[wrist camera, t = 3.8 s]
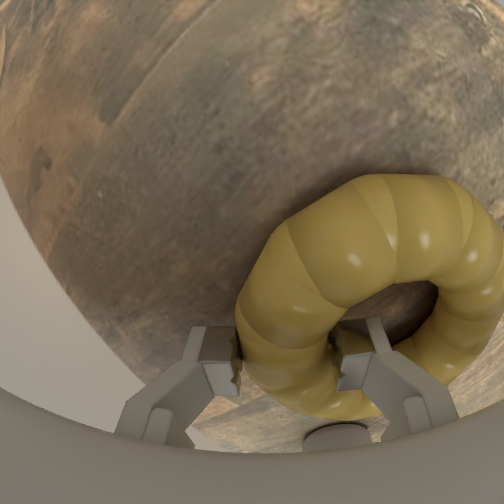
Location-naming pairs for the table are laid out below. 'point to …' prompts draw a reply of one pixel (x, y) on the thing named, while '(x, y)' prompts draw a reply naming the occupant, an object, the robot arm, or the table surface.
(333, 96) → the table surface
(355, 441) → the beverage can
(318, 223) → the ring doughnut
